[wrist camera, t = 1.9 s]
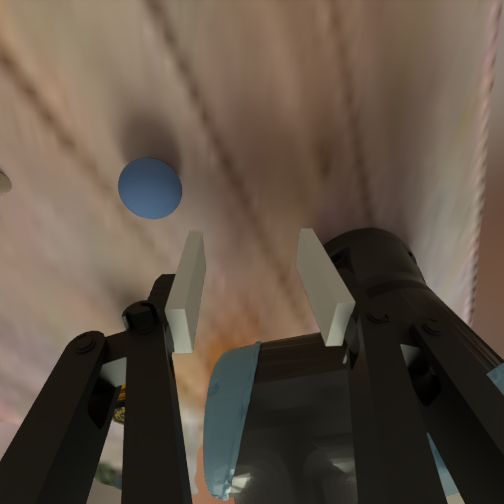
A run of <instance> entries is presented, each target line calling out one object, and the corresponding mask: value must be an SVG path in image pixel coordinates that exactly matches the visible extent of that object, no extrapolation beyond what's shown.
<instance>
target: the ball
mask: <svg viewBox="0 0 504 504" xmlns="http://www.w3.org/2000/svg"><path fill="white" fill-rule="evenodd" d="M118 190H119V194H120V197H121V199H122V201H123V203H124V204H125V206H126V207H127V208H128V209H129V210H130V211H132V212H133V213H134V214H136V215H138V216H140V217H143V218H148V219H158V218H162V217H165V216H167V215H169V214H171V213H172V212H173V211H174V210H175V209H176V208H177V206H178V205H179V203H180V200H181V197H182V186H181V182H180V179H179V177H178V175H177V174H176V172H175V171H174V170H173V169H172V168H171V167H170V166H169V165H167V164H166V163H164V162H162V161H160V160H157V159H153V158H141V159H137V160H135V161H133V162H131V163H129V164H128V165H127V166H126V167H125V168H124V169H123V171H122V172H121V175H120V177H119V181H118Z"/></svg>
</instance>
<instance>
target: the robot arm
mask: <svg viewBox="0 0 504 504" xmlns="http://www.w3.org/2000/svg"><path fill="white" fill-rule="evenodd" d="M296 266H297V269H298V272H299V275H300V277H301V280H302V283H303V286H304V288H305V291H306V294H307V296H308V299H309V302H310V305H311V307H312V310H313V313H314V316H315V318H316V321H317V324H318V327H319V329H320V332H319V333H313V334H308V335H302V336H297V337H291V338H285V339H280V340H274V341H269V342H263V343H261V341H257V342H256V343H255V344H253V345H249V346H244V347H240V348H236V349H232V350H229V351H227V352H225V353H224V354H223V355H221V357H220V358H219V359H218V361H217V362H216V364H215V366H214V369H213V371H212V375H211V378H210V382H209V387H208V392H207V399H206V406H205V416H204V430H203V462H204V474H205V481H206V485H207V488H208V490H209V492H210V493H211V495H212V496H213V497H214V498H219V499H222V500H223V501H225V500H228V499H229V498H231V497H234V499H235V504H448V503H447V500H446V496H449V495H452V494H455V493H458V492H459V493H460V495H461V497H462V498H463V501H464V503H465V504H504V360H503V359H502V358H501V357H500V356H499V355H498V354H497V353H496V352H495V351H494V350H493V349H492V348H490V346H488V345H487V344H486V343H485V342H484V341H483V340H482V339H481V338H480V337H479V336H478V335H477V334H476V333H475V332H474V331H473V330H472V329H471V328H470V327H469V326H468V325H467V324H466V323H465V322H464V321H463V320H462V319H461V318H460V317H459V316H457V315H456V314H455V313H454V312H453V311H452V310H451V309H450V308H449V307H448V306H447V305H446V304H445V303H444V302H443V301H442V300H441V299H440V298H439V297H438V296H437V295H436V294H435V293H434V292H433V291H432V290H431V289H430V288H429V287H428V286H427V285H426V283H425V280H424V278H423V275H422V273H421V271H420V269H419V267H418V266H417V262H416V259H415V257H414V254H413V253H412V251H411V250H410V248H409V247H408V246H407V245H406V244H405V243H404V242H402V241H401V240H400V239H399V238H398V237H397V236H395V235H394V234H392V233H390V232H388V231H385V230H381V229H359V230H354V231H351V232H348V233H345V234H342V235H340V236H338V237H336V238H334V239H333V240H331V241H330V242H328V243H327V244H326V245H324V246H322V244H321V243H320V241H319V239H318V237H317V236H316V234H315V232H314V231H313V229H312V228H308V229H300V235H299V243H298V250H297V258H296ZM205 270H206V262H205V253H204V243H203V234H202V231H189V234H188V237H187V240H186V244H185V247H184V250H183V253H182V256H181V259H180V263H179V266H178V269H177V272H176V274H162V275H161V276H160V277H159V278H158V279H157V280H156V281H155V283H154V285H153V288H152V290H151V292H150V296H149V297H148V300H145V301H139V302H136V303H133V304H132V305H130V306H129V307H127V308H126V310H125V311H124V312H123V315H122V319H123V322H124V324H125V327H126V331H123V332H121V333H117V334H114V335H111V336H107V337H105V336H104V334H103V333H101V332H99V331H89V332H85V333H83V334H81V335H79V336H77V337H75V338H74V339H73V340H72V341H70V343H69V344H68V345H67V346H66V348H65V350H64V351H63V353H62V355H61V357H60V358H59V360H58V362H57V364H56V365H55V367H54V369H53V370H52V372H51V374H50V376H49V377H48V379H47V381H46V383H45V384H44V386H43V388H42V390H41V391H40V393H39V395H38V397H37V398H36V400H35V402H34V403H33V405H32V407H31V409H30V410H29V412H28V414H27V416H26V417H25V419H24V421H23V423H22V424H21V426H20V428H19V430H18V431H17V433H16V435H15V437H14V438H13V440H12V442H11V444H10V445H9V447H8V449H7V450H6V452H5V454H4V456H3V457H2V459H1V461H0V504H86V502H87V498H88V495H89V492H90V489H91V486H92V482H93V479H94V476H95V473H96V469H97V466H98V463H99V460H100V456H101V453H102V450H103V447H104V443H105V440H106V437H107V434H108V430H109V427H110V424H111V421H112V417H113V414H114V411H115V408H116V404H117V401H118V398H119V395H120V391H121V388H122V385H123V384H125V412H124V440H123V468H122V496H121V504H192V497H191V489H190V482H189V475H188V467H187V460H186V453H185V445H184V438H183V431H182V424H181V416H180V409H179V402H178V394H177V387H176V380H175V373H174V365H173V360H172V352H173V347H174V350H175V354H178V353H193V347H194V341H195V334H196V328H197V322H198V315H199V309H200V302H201V296H202V289H203V283H204V277H205Z"/></svg>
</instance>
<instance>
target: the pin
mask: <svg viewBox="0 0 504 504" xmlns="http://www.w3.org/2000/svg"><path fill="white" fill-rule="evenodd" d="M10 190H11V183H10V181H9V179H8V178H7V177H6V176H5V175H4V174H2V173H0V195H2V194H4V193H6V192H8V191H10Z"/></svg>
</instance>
